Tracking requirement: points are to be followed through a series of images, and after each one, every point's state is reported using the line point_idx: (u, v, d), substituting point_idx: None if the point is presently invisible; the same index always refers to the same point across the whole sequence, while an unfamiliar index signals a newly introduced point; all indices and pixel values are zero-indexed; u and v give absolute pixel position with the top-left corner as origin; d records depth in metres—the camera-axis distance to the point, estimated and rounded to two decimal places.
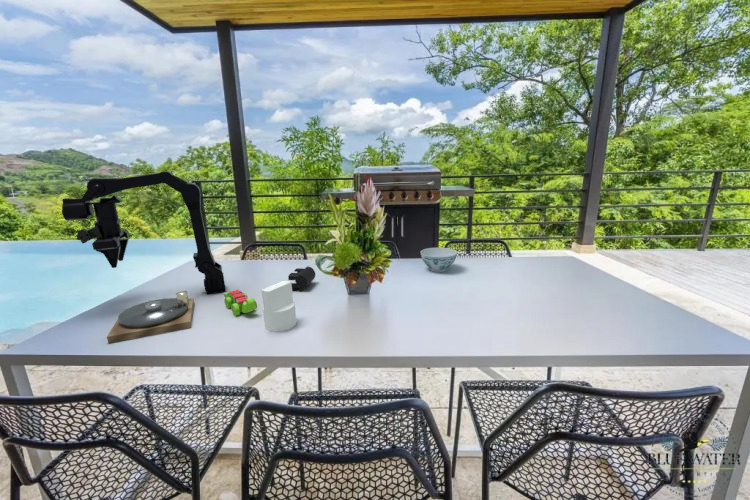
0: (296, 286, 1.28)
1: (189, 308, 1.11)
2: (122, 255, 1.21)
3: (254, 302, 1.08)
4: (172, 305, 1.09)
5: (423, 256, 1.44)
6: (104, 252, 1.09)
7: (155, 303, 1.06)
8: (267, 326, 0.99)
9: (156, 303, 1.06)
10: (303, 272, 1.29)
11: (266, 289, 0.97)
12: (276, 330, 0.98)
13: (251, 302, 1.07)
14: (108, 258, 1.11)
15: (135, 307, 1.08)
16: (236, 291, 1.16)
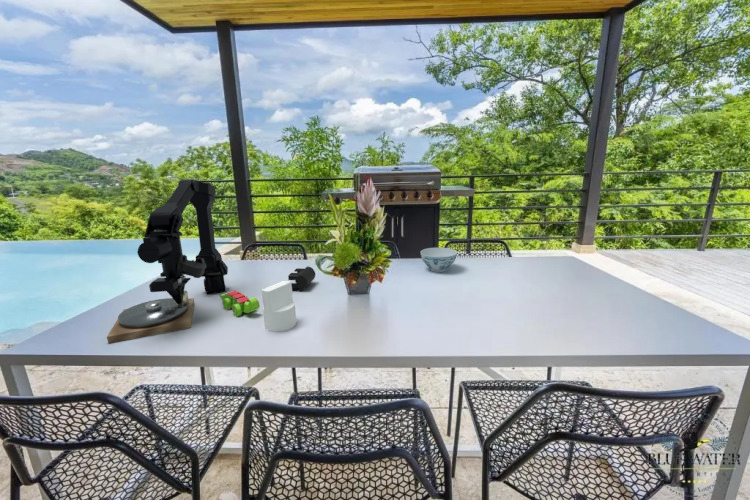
0: (296, 286, 1.28)
1: (189, 308, 1.11)
2: None
3: (256, 301, 1.08)
4: (172, 305, 1.09)
5: (423, 256, 1.44)
6: None
7: (155, 303, 1.06)
8: (267, 326, 0.99)
9: (156, 303, 1.06)
10: (303, 272, 1.29)
11: (266, 289, 0.97)
12: (276, 330, 0.98)
13: (254, 302, 1.07)
14: None
15: (135, 307, 1.08)
16: (234, 292, 1.16)
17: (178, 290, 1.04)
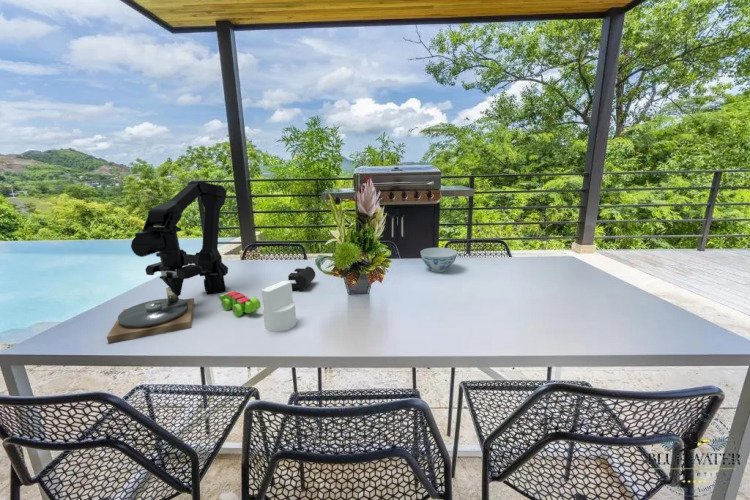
0: (296, 286, 1.28)
1: (189, 308, 1.11)
2: None
3: (258, 301, 1.08)
4: (163, 303, 1.11)
5: (423, 256, 1.44)
6: None
7: (155, 302, 1.07)
8: (267, 326, 0.99)
9: (156, 302, 1.07)
10: (303, 272, 1.29)
11: (266, 289, 0.97)
12: (276, 330, 0.98)
13: (255, 301, 1.07)
14: None
15: (124, 316, 1.02)
16: (234, 292, 1.15)
17: (182, 281, 1.12)
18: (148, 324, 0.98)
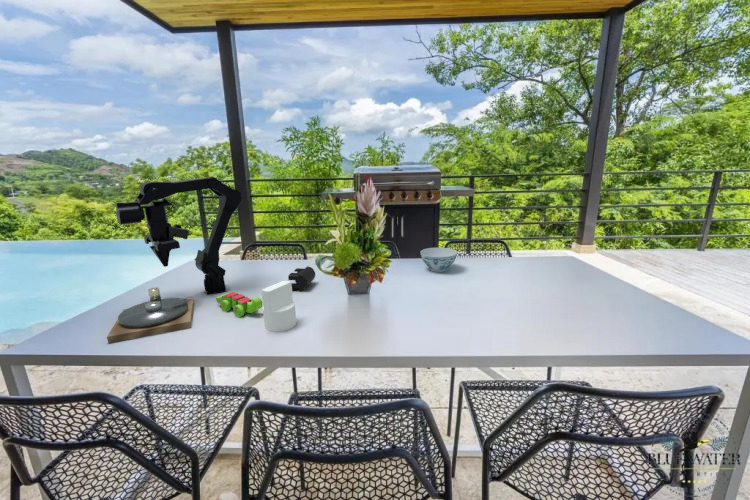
0: (296, 286, 1.28)
1: (189, 308, 1.11)
2: None
3: (260, 301, 1.08)
4: None
5: (423, 256, 1.44)
6: None
7: (153, 302, 1.07)
8: (267, 326, 0.99)
9: (155, 302, 1.07)
10: (303, 272, 1.29)
11: (266, 289, 0.97)
12: (276, 330, 0.98)
13: (257, 301, 1.08)
14: None
15: (133, 320, 0.99)
16: (232, 293, 1.14)
17: (168, 253, 1.17)
18: (172, 317, 1.02)
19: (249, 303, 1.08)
